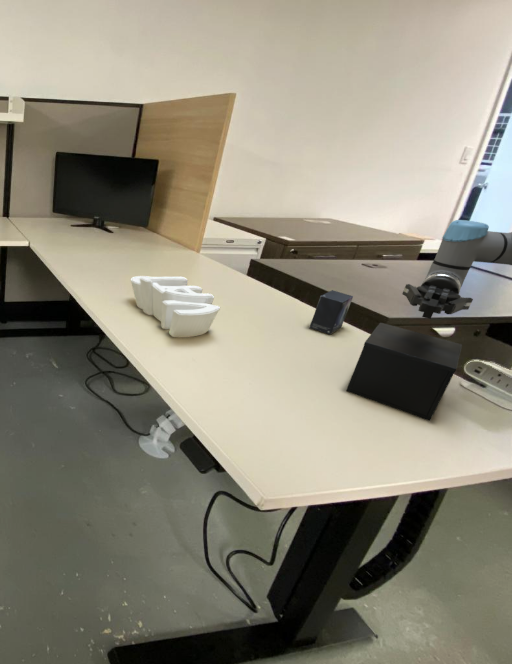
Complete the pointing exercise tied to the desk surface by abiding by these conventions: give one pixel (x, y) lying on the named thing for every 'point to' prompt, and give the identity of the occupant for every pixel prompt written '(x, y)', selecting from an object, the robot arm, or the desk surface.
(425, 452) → the desk surface
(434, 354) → the black box lid
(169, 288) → the white letter sign
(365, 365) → the black box body
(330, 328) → the small box
